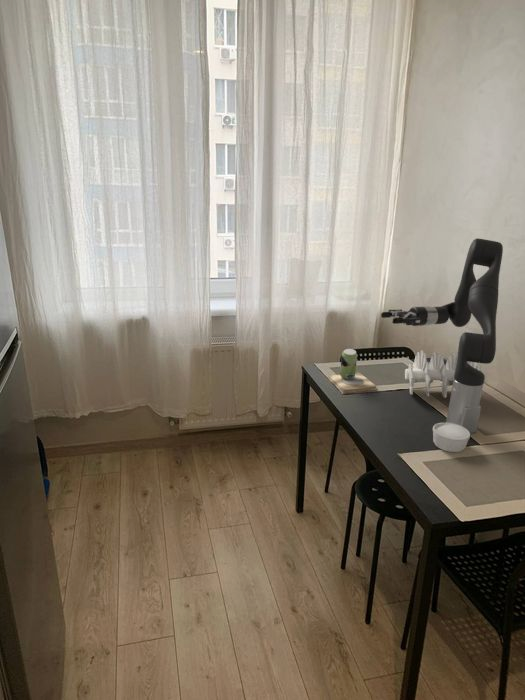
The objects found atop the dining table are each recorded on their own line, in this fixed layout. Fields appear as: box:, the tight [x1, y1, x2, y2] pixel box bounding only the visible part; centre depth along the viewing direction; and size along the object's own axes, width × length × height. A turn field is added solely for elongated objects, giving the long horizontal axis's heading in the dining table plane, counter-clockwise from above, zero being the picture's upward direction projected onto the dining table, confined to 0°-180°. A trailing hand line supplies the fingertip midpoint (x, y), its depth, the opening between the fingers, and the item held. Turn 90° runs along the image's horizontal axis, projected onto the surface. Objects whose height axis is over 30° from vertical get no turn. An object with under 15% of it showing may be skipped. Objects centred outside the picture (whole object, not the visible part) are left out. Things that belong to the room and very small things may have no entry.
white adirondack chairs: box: [404, 349, 481, 398], centre depth 193 cm, size 18×18×25 cm
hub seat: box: [328, 372, 377, 394], centre depth 203 cm, size 14×14×2 cm
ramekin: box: [432, 422, 471, 453], centre depth 161 cm, size 11×11×5 cm
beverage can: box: [339, 348, 358, 379], centre depth 203 cm, size 6×7×12 cm
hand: (387, 317), depth 198 cm, fingers open, 8 cm apart
